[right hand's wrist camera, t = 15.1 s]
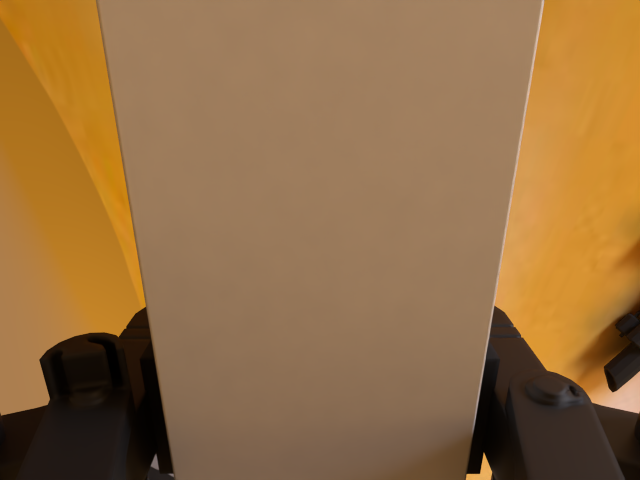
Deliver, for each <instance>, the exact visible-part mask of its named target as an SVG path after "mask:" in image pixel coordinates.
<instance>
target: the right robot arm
mask: <svg viewBox="0 0 640 480" xmlns="http://www.w3.org/2000/svg"><path fill="white" fill-rule="evenodd" d="M40 364H41V368H42V371H43V375H44V378H45V382H46V386H47V389H48V393H49V397H50V401H49V403H48V405H46V406H42V407H38V408H34V409H30V410H25V411H21V412H16V413H11V414H7V415H2V416H1V414H0V480H175V479H174V473H173V467H172V461H171V455H170V449H169V443H168V437H167V431H166V425H165V418H164V412H163V406H162V400H161V394H160V388H159V382H158V376H157V370H156V364H155V357H154V351H153V345H152V339H151V333H150V327H149V321H148V315H147V309H146V307H145V308H143V309H142V310H140V311H139V312H137V313H136V314H135V315H134V317H133V318H132V319H131V321H130V322H129V324H128V325H127V327H126V329H124V330H123V332H122V333H121V335H120V336H119V337H118V336H116V335H113V334H109V333H88V334H83V335H79V336H74V337H72V338H69V339H67V340H64V341H62V342H60V343H58V344H57V345H55V346H53V347H52V348H50V349H49V350H47V351H46V353H45V354H44V355H43V356H42V357H41V358H40ZM483 453H485V456H486V458H487V460H488V463H489V465H490V468H491V470H492V477H491V480H640V413H639V414H638V413H633V412H629V411H624V410H619V409H615V408H610V407H605V406H601V405H598V404H594V403H592V402H591V400H590V398H589V397H588V395H587V394H586V392H585V391H584V390H583V388H581V387H580V386H579V385H577V384H576V383H575V382H573V381H572V380H570V379H568V378H566V377H564V376H562V375H560V374H557V373H554V372H550V371H547V370H546V369H545V368H544V366H543V365H542V363H541V362H540V361H539V359H538V358H537V357H536V355H535V354H534V352H533V351H532V350H531V348H530V347H529V346H528V344H527V343H526V341H525V340H524V339H523V338H521V335H520V333H519V332H518V330H517V329H516V328H515V327H513V323H512V322H511V321H510V319H509V318H508V317H507V315H506V314H505V312H503V311H502V310H500V309H499V308H497V307H496V306H494V310H493V316H492V322H491V328H490V334H489V340H488V346H487V352H486V359H485V365H484V371H483V377H482V383H481V389H480V395H479V401H478V407H477V413H476V419H475V426H474V432H473V438H472V444H471V450H470V456H469V462H468V468H467V474H480V470H481V465H482V459H483Z"/></svg>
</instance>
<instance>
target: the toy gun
mask: <svg viewBox="0 0 640 480" xmlns="http://www.w3.org/2000/svg"><path fill="white" fill-rule="evenodd" d="M638 315H640V310H639V311H638V312H637V313H636V314H635V315H634V316H633V315H632V314H627V315H626V316H625V317H624V318H623V319H622V320H620V321H619V322H618V323H617V324H616V328H617V329H618V330H619V331H620V332H621V334H620V335H619V336H620V337H623V336H624V335H625V336H627V338H628V339H629V340H630V341H631V342H632V343H630V344H629V345H628V346H627V347H626V348H625V349H624V350H622V351H621V352H620V353H619V354H618V355H617V356H616V357H615V358H613V359H612V360H611V361H610V362H609V363H608V364H607V365H606V366H604V372H605V375H606V379H607V383H608V387H609V389H610V390H611V391H612V392H615V391H617V390H618V389H619V388H620V387H622V386H623V385H624V384H625V383H626V382H628V381H629V380H630V379H631V378H632V377H633V376H634V375H636V374H637V373H638V372H639V371H640V320H639V319H637V318H636V317H637V316H638Z"/></svg>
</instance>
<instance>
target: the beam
mask: <svg viewBox="0 0 640 480" xmlns="http://www.w3.org/2000/svg"><path fill="white" fill-rule="evenodd" d="M96 4H97V10H98V16H99V22H100V28H101V34H102V40H103V46H104V53H105V59H106V65H107V71H108V77H109V83H110V89H111V95H112V101H113V107H114V114H115V120H116V126H117V132H118V138H119V144H120V150H121V156H122V162H123V168H124V174H125V181H126V187H127V193H128V199H129V205H130V211H131V217H132V223H133V229H134V235H135V242H136V248H137V254H138V260H139V266H140V272H141V278H142V284H143V290H144V296H145V303H146V309H147V315H148V321H149V327H150V333H151V339H152V345H153V351H154V357H155V364H156V370H157V376H158V382H159V388H160V394H161V400H162V406H163V412H164V418H165V425H166V431H167V437H168V443H169V449H170V455H171V461H172V467H173V473H174V479H175V480H466V474H467V468H468V462H469V456H470V450H471V444H472V438H473V432H474V426H475V419H476V413H477V407H478V401H479V395H480V389H481V383H482V377H483V371H484V365H485V359H486V352H487V346H488V340H489V334H490V328H491V322H492V316H493V310H494V304H495V298H496V292H497V286H498V279H499V273H500V267H501V261H502V255H503V249H504V243H505V237H506V231H507V225H508V219H509V212H510V206H511V200H512V194H513V188H514V182H515V176H516V170H517V164H518V158H519V152H520V145H521V139H522V133H523V127H524V121H525V115H526V109H527V103H528V97H529V91H530V85H531V78H532V72H533V66H534V60H535V54H536V48H537V42H538V36H539V30H540V24H541V18H542V12H543V5H544V0H96Z"/></svg>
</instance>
